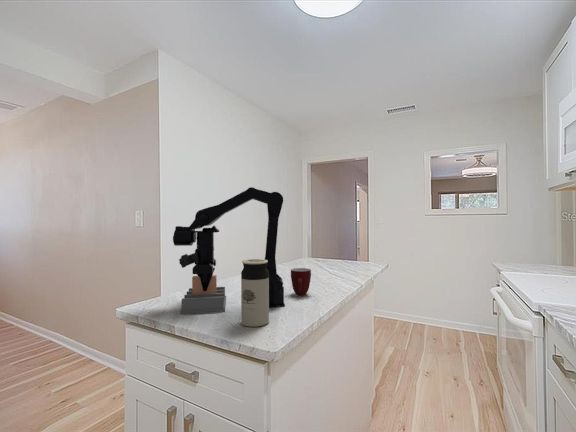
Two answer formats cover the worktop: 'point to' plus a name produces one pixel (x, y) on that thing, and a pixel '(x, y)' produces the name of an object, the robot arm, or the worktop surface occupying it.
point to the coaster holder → (204, 302)
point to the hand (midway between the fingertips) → (205, 290)
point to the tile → (198, 286)
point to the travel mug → (254, 293)
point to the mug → (300, 280)
